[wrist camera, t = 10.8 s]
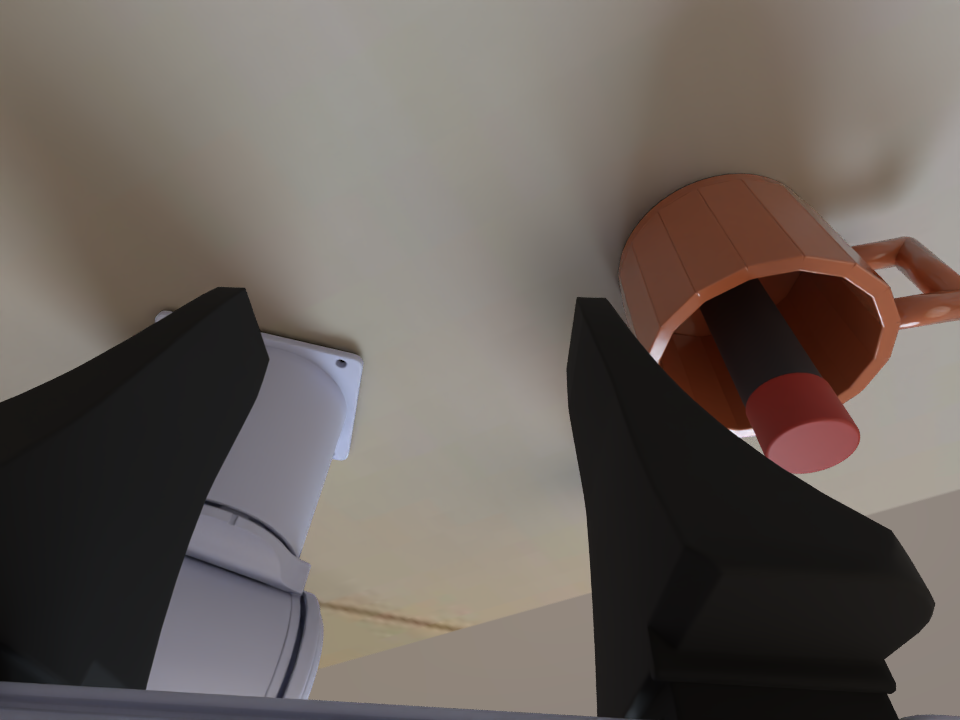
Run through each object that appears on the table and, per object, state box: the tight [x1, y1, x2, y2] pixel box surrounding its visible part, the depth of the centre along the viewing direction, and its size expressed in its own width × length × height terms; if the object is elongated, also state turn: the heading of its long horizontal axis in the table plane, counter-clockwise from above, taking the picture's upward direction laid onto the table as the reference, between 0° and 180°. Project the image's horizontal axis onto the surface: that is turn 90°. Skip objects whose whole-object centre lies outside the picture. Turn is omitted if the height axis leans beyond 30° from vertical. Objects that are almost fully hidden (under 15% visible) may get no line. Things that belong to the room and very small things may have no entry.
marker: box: [699, 278, 860, 474], centre depth 17 cm, size 2×2×9 cm
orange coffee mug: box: [619, 174, 960, 438], centre depth 19 cm, size 10×7×6 cm
